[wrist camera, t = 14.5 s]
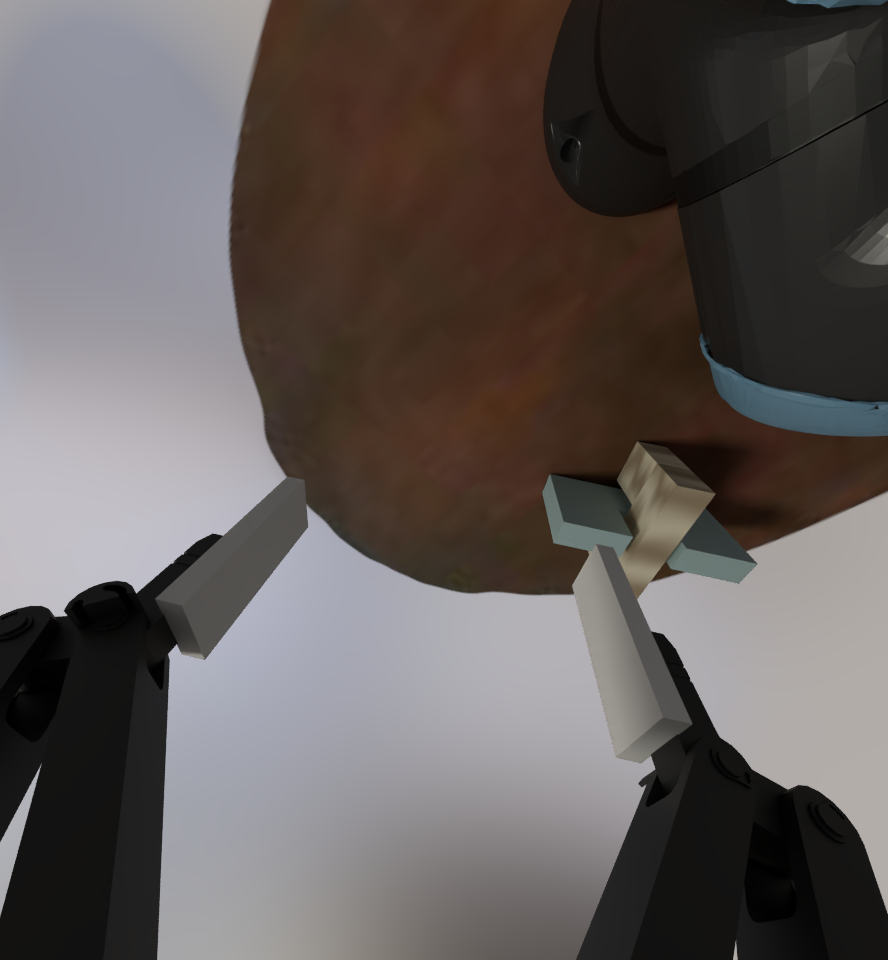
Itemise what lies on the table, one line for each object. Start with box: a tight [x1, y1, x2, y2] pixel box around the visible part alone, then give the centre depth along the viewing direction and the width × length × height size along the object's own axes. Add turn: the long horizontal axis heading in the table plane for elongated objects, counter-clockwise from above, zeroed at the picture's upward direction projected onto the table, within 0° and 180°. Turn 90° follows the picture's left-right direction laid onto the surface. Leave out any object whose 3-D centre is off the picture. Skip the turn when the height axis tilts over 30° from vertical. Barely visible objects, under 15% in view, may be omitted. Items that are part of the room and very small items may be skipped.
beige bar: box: [588, 441, 715, 599], centre depth 38 cm, size 16×4×10 cm, turn 171°
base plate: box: [543, 474, 757, 584], centre depth 38 cm, size 20×3×10 cm, turn 81°
